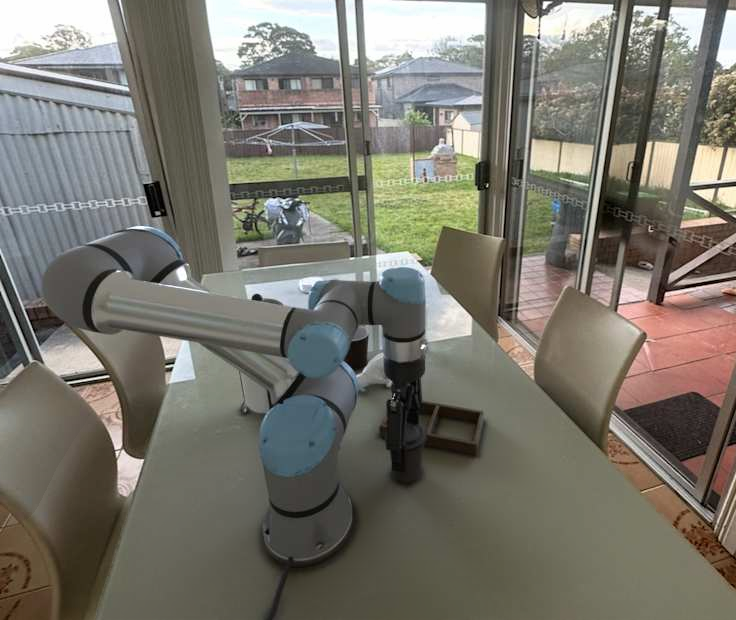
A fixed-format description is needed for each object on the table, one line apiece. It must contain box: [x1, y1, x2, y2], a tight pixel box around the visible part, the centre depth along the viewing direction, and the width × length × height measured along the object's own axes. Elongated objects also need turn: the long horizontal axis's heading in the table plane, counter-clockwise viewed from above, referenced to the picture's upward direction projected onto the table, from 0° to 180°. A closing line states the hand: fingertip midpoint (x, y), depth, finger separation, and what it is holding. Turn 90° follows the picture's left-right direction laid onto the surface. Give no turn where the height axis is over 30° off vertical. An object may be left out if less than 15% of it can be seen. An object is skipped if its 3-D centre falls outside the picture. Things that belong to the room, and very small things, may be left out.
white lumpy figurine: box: [356, 352, 393, 393], centre depth 115 cm, size 6×8×12 cm
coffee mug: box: [343, 325, 370, 371], centre depth 126 cm, size 12×9×10 cm
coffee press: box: [238, 293, 284, 415], centre depth 103 cm, size 17×16×30 cm
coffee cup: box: [384, 422, 427, 483], centre depth 87 cm, size 8×8×10 cm
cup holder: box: [379, 400, 485, 457], centre depth 100 cm, size 11×22×3 cm, turn 74°
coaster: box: [298, 276, 325, 294], centre depth 178 cm, size 10×10×4 cm
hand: (406, 453), depth 87 cm, fingers closed on coffee cup, 8 cm apart
